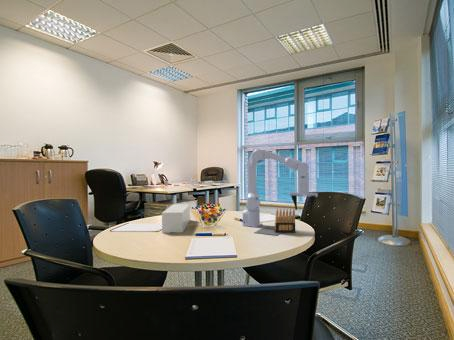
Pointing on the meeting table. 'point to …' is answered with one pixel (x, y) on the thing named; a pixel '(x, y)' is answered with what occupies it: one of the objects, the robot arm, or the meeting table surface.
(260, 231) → the rubber mat
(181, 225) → the light grey rectangular block
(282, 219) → the ammunition clip
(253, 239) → the meeting table surface
